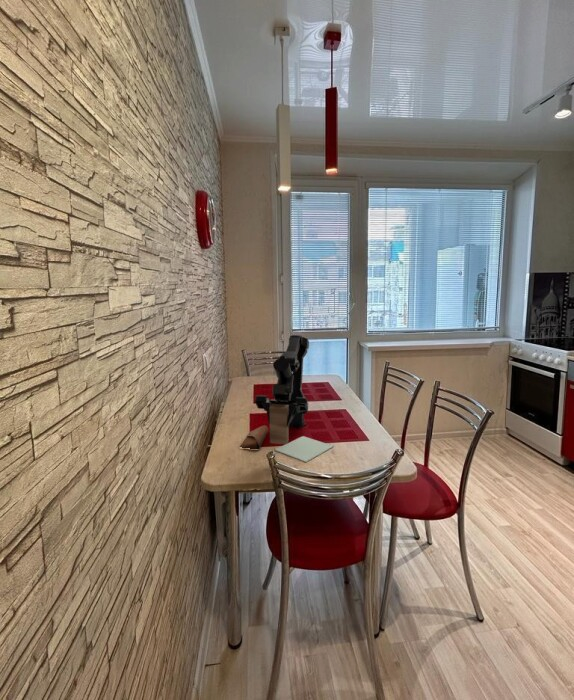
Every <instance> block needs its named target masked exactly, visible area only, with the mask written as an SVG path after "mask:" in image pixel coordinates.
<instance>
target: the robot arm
mask: <svg viewBox="0 0 574 700" xmlns="http://www.w3.org/2000/svg"><path fill="white" fill-rule="evenodd" d="M308 349H310V340H309V339H308V338H307V337H305V336H304V337H303V335H300V334H291V335H290V336H289V338H288V346H287V348H286V351H285V352H284V353H282V354H281V355H280V356H279V358H277V359H276V360H275V361H274V362H273V364H272V366H273V370H274V372H275V376H276V378H277V382H276V384H272V390H271V393H272V397H273V398H274V399H270V398H269V397H268V395H263V394H259V395H258V394H257V395H256V396H255V399H254V403H255V405H256V408H257V409H261V410H262V409H263V411H265V412H266V414H267V420H268V426H270V411H269V407H270V406H271V405H272V404H278V405H289V415H288V419H287V426H289V427H291V428H294V429H301V428H302V427H305V426H307V423H305V420H304V419H305V417H304V416H305V415H306V414H308V412H309V401H308V399H307V397H305V395H304V393H303V391H302V388H303V372H304V369H303V368H304V358H305V357H306V356H307V354H308Z"/></svg>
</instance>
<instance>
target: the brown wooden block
mask: <svg viewBox="0 0 574 700" xmlns="http://www.w3.org/2000/svg"><path fill="white" fill-rule="evenodd" d="M269 411H270V425H269V443H270V444H279V445H285V444H288V443H289V442H290V441H289V440H290V439H289V438H290V435H289V433H290V432H289V431H290V430H289V429H290V426H287V419H288V415H289V405H278V404H272V405H271V406H270V407H269Z"/></svg>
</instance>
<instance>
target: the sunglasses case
mask: <svg viewBox="0 0 574 700" xmlns="http://www.w3.org/2000/svg"><path fill="white" fill-rule="evenodd" d="M269 432H270V428H269V427H268V426H267V425H265V424H264V425H261V426H259V427H257V428H255V429H254V430H251V431H249V432H248V434H247V435H246V437H245V438H244V439H243V441H242V442H241V443H240V445H239V447H242V448H250V449H259V450H260V449H261V447H262V445H263V443H264V441H265V439H266V437H267V436H268V433H269Z"/></svg>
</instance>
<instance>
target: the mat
mask: <svg viewBox="0 0 574 700" xmlns="http://www.w3.org/2000/svg"><path fill="white" fill-rule="evenodd" d="M333 448H335V447H334V445H332V444H328V443H327V442H322V441H320V440H316V439H313V438H310V437H307V436H304V435H302V436H300V437H297V438H296V439H294V440H292V441H289V442H288V443H287V444H282V446H281V445H280V446H279V447H277V448H275V449H274V451H275V452H277V453H281V454H283V455H286V456H288V457H290V458H293V459H296V460H298V461H302V462H304V463H307V462H309V461H312V460H313V459H315V458H317V457H318V456H321V454H324V453H325V452H328V451H329V450H332V449H333Z"/></svg>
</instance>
